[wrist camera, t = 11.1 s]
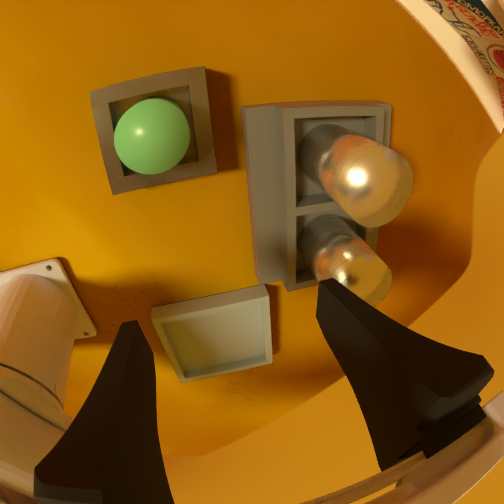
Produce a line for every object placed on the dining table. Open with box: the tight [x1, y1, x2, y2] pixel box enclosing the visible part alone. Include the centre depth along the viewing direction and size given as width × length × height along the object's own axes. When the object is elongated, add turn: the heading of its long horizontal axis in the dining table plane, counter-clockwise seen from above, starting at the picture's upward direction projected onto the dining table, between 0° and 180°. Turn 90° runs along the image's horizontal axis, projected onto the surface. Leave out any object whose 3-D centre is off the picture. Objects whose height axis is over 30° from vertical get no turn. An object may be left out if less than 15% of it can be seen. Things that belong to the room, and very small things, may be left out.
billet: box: [298, 214, 392, 307], centre depth 19 cm, size 4×4×6 cm
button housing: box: [89, 66, 218, 195], centre depth 15 cm, size 6×6×2 cm
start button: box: [114, 97, 190, 174], centre depth 14 cm, size 4×4×3 cm
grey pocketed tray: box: [240, 100, 392, 292], centre depth 20 cm, size 10×13×3 cm
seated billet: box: [298, 123, 413, 227], centre depth 16 cm, size 4×4×6 cm
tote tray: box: [151, 284, 273, 383], centre depth 26 cm, size 9×9×1 cm
